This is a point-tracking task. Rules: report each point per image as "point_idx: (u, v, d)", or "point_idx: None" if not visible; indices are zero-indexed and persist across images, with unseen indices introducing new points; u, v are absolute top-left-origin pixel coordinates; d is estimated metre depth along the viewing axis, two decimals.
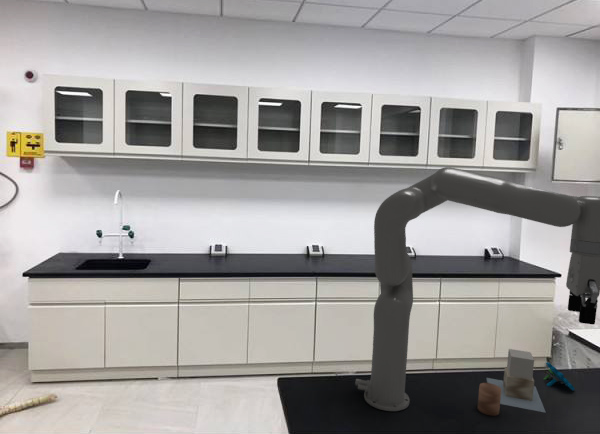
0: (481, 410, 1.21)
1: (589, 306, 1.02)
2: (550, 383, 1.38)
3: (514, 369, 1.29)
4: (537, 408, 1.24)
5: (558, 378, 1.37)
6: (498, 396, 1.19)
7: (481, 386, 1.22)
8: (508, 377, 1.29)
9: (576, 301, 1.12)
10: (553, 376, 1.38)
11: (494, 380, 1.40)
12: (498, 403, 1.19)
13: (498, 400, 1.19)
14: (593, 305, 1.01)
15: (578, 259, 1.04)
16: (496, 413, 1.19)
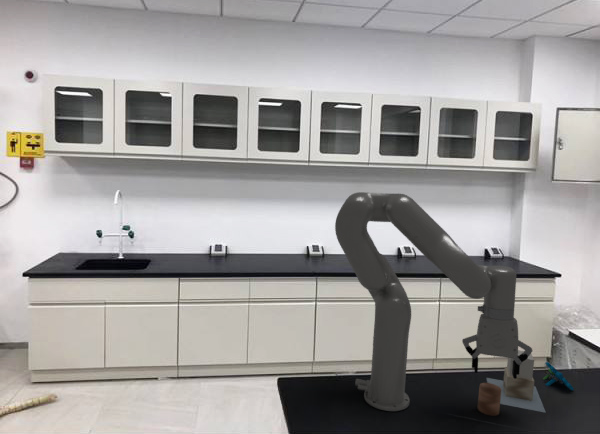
0: (481, 410, 1.20)
1: None
2: (549, 383, 1.38)
3: None
4: (537, 408, 1.24)
5: (557, 378, 1.37)
6: (498, 396, 1.19)
7: (481, 386, 1.21)
8: (508, 377, 1.29)
9: None
10: (552, 376, 1.39)
11: (494, 380, 1.40)
12: (498, 403, 1.19)
13: (498, 400, 1.19)
14: None
15: (511, 325, 1.16)
16: (496, 413, 1.19)
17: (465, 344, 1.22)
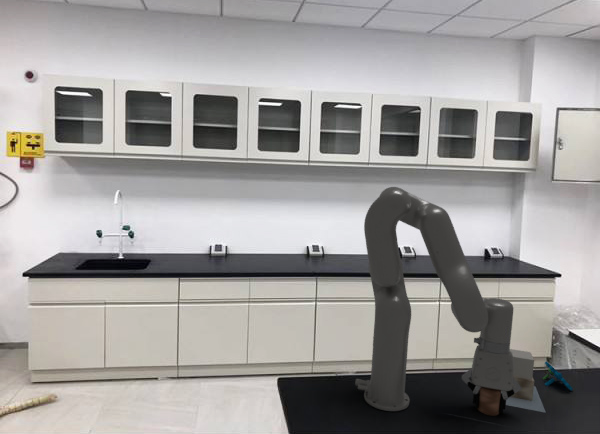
0: (481, 410, 1.20)
1: None
2: (548, 382, 1.38)
3: (514, 369, 1.29)
4: (537, 408, 1.24)
5: (556, 378, 1.37)
6: (498, 396, 1.19)
7: None
8: None
9: None
10: (551, 376, 1.39)
11: None
12: (498, 403, 1.19)
13: (498, 400, 1.19)
14: None
15: (507, 359, 1.17)
16: (496, 413, 1.19)
17: (465, 380, 1.22)
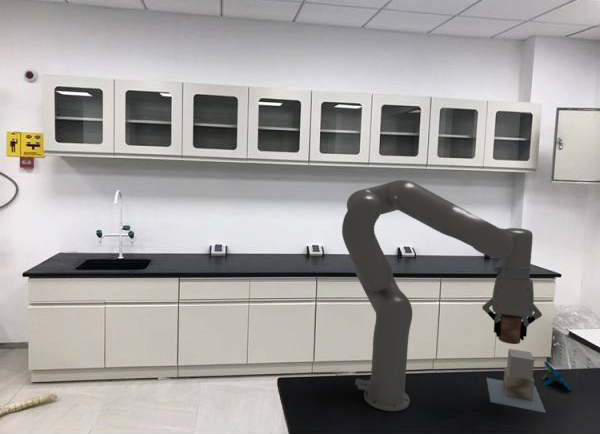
0: (502, 338, 1.23)
1: None
2: (547, 382, 1.38)
3: (514, 369, 1.29)
4: (537, 408, 1.24)
5: (555, 377, 1.37)
6: (519, 323, 1.21)
7: (502, 315, 1.24)
8: (508, 377, 1.29)
9: None
10: (551, 375, 1.39)
11: (494, 380, 1.40)
12: (519, 330, 1.22)
13: (519, 327, 1.21)
14: None
15: (527, 285, 1.19)
16: (517, 340, 1.22)
17: (486, 310, 1.25)
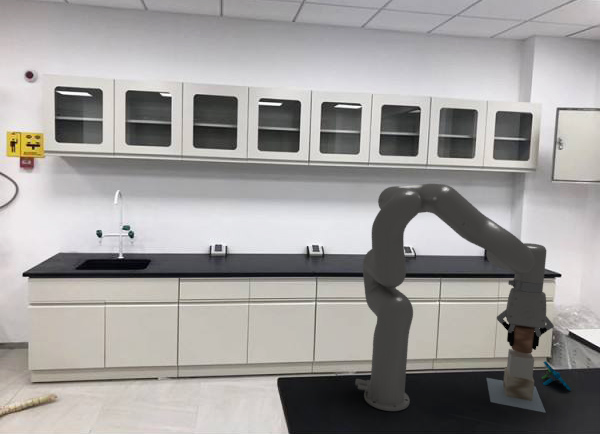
0: (516, 347, 1.29)
1: None
2: (546, 382, 1.38)
3: (514, 369, 1.29)
4: (537, 408, 1.24)
5: (554, 377, 1.37)
6: (532, 333, 1.28)
7: (515, 325, 1.30)
8: (508, 377, 1.29)
9: None
10: (550, 375, 1.39)
11: (494, 380, 1.40)
12: (532, 340, 1.28)
13: (532, 337, 1.28)
14: None
15: (540, 298, 1.26)
16: (530, 349, 1.28)
17: (500, 320, 1.31)
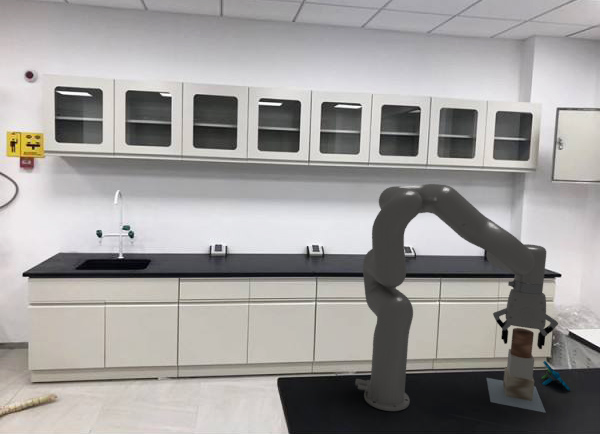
0: (515, 352, 1.29)
1: None
2: (546, 382, 1.38)
3: (514, 369, 1.29)
4: (537, 408, 1.24)
5: (554, 377, 1.37)
6: (531, 338, 1.28)
7: (514, 330, 1.30)
8: (508, 377, 1.29)
9: None
10: (549, 375, 1.39)
11: (494, 380, 1.40)
12: (531, 345, 1.28)
13: (531, 342, 1.28)
14: None
15: (540, 299, 1.26)
16: (529, 354, 1.28)
17: (496, 317, 1.32)
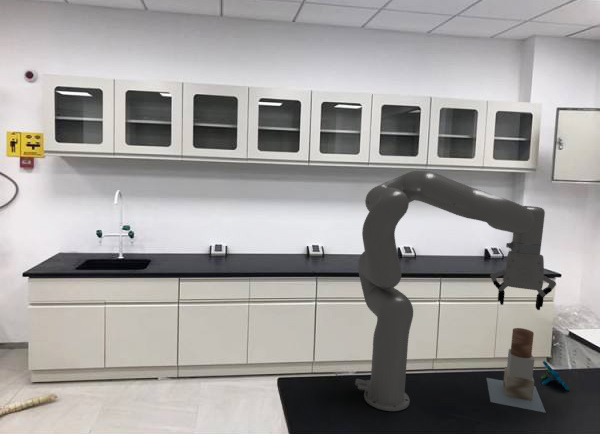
0: (515, 352, 1.29)
1: None
2: (545, 382, 1.38)
3: (514, 369, 1.29)
4: (537, 408, 1.24)
5: (553, 377, 1.37)
6: (531, 338, 1.28)
7: (514, 330, 1.30)
8: (508, 377, 1.29)
9: None
10: (549, 375, 1.39)
11: (494, 380, 1.40)
12: (531, 345, 1.28)
13: (531, 342, 1.28)
14: None
15: (538, 260, 1.25)
16: (529, 354, 1.28)
17: (493, 278, 1.32)
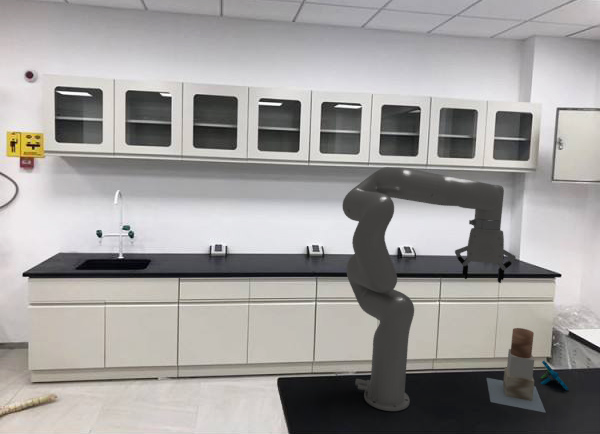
0: (515, 352, 1.29)
1: None
2: (544, 381, 1.39)
3: (514, 369, 1.29)
4: (537, 408, 1.24)
5: (552, 377, 1.38)
6: (531, 338, 1.28)
7: (514, 330, 1.30)
8: (508, 377, 1.29)
9: None
10: (548, 375, 1.39)
11: (494, 380, 1.40)
12: (531, 345, 1.28)
13: (531, 342, 1.28)
14: None
15: (498, 235, 1.32)
16: (529, 354, 1.28)
17: (457, 254, 1.38)
